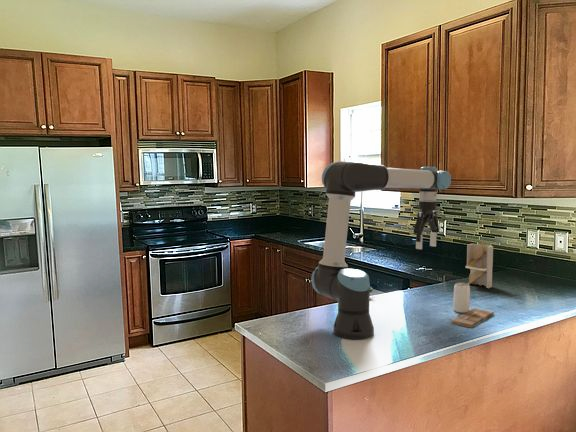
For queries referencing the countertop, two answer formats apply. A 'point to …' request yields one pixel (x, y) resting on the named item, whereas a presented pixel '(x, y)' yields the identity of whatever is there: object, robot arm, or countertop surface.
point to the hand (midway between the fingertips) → (426, 247)
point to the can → (461, 297)
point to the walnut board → (472, 317)
